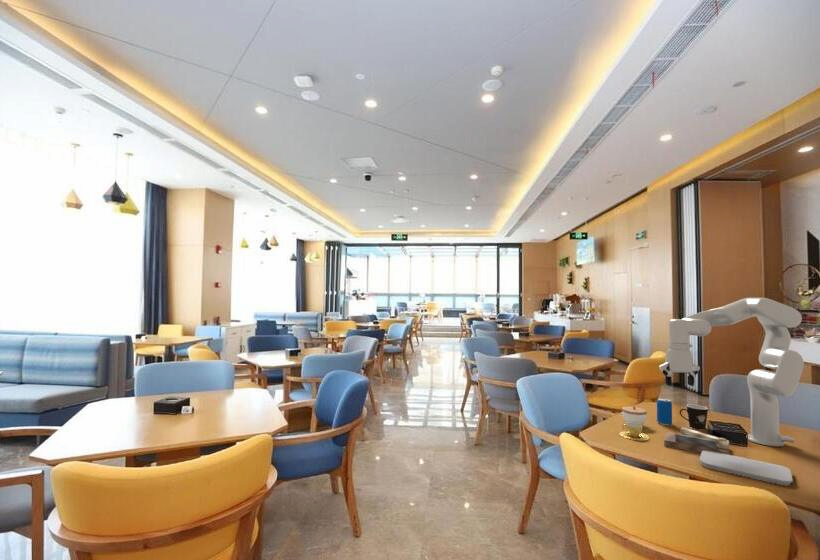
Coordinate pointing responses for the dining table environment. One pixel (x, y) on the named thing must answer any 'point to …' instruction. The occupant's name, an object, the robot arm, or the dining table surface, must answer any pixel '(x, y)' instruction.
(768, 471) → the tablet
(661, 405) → the beverage can
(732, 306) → the robot arm
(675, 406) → the dining table surface
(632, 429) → the cup
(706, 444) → the weathered wood block
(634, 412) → the lidded jar
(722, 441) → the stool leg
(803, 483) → the dining table surface
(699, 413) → the coffee mug
